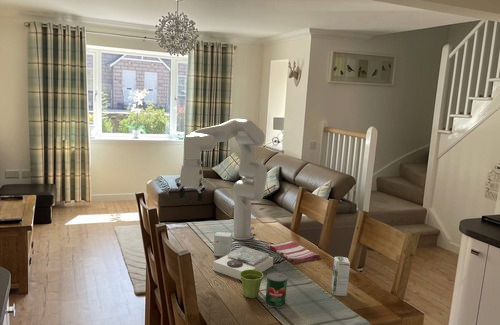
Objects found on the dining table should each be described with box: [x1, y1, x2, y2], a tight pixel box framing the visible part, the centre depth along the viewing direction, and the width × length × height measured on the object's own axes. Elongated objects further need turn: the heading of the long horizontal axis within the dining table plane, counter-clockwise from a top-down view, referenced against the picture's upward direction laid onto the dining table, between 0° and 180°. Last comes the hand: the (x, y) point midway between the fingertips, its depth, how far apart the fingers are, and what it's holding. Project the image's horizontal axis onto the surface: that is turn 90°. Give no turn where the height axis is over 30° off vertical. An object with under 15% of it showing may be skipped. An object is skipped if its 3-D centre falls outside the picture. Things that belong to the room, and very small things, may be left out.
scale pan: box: [227, 246, 271, 265], centre depth 192 cm, size 13×15×1 cm
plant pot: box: [240, 270, 264, 299], centre depth 165 cm, size 9×9×9 cm
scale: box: [212, 255, 274, 281], centre depth 190 cm, size 22×18×5 cm
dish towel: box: [266, 240, 321, 265], centre depth 211 cm, size 17×23×3 cm
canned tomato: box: [264, 271, 288, 308], centre depth 159 cm, size 8×8×11 cm
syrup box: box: [330, 256, 351, 297], centre depth 170 cm, size 6×6×14 cm
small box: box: [213, 231, 233, 257], centre depth 204 cm, size 8×6×10 cm
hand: (190, 199), depth 190 cm, fingers open, 9 cm apart
